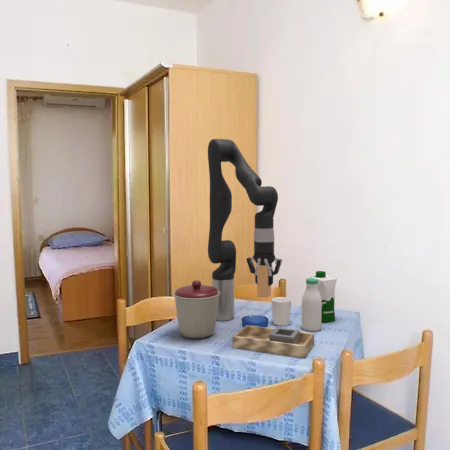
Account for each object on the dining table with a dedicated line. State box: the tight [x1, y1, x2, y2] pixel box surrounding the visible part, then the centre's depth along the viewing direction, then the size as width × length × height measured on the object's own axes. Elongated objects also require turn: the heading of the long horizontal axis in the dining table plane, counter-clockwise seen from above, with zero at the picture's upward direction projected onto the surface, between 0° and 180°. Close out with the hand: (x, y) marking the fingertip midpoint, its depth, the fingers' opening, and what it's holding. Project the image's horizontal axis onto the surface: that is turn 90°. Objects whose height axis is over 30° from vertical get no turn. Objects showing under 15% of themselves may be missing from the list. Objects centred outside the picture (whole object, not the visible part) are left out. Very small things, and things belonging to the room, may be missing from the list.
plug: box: [256, 264, 272, 299], centre depth 180 cm, size 4×4×12 cm
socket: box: [269, 326, 301, 345], centre depth 168 cm, size 9×9×5 cm
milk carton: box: [310, 270, 338, 324], centre depth 199 cm, size 9×9×20 cm
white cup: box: [271, 296, 292, 327], centre depth 195 cm, size 8×8×10 cm
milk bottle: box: [301, 277, 322, 332], centre depth 188 cm, size 8×8×20 cm
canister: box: [172, 279, 220, 339], centre depth 182 cm, size 18×18×21 cm
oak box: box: [232, 324, 315, 359], centre depth 170 cm, size 26×14×4 cm, turn 67°
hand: (264, 284), depth 180 cm, fingers closed on plug, 4 cm apart
